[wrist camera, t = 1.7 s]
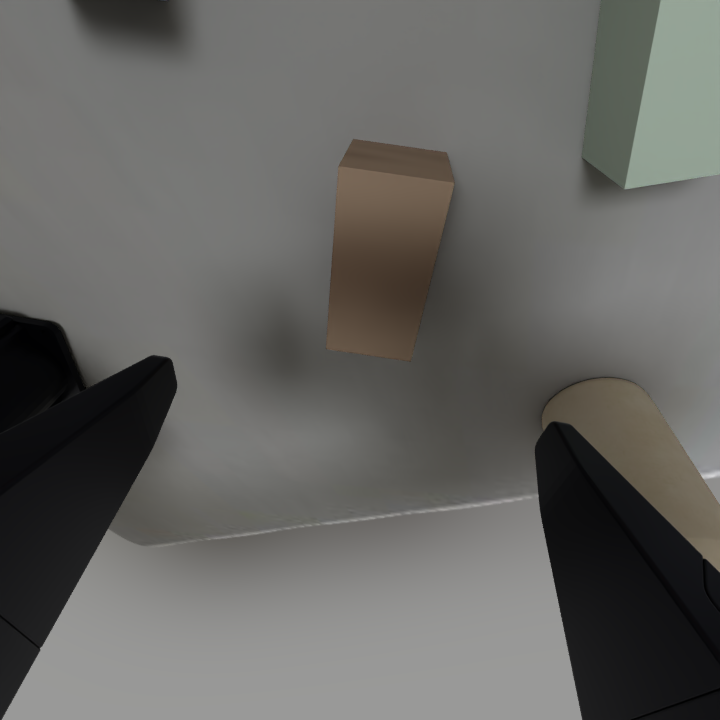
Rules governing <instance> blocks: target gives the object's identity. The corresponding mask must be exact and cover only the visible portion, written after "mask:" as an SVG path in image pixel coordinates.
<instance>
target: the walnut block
mask: <svg viewBox="0 0 720 720" xmlns="http://www.w3.org/2000/svg"><path fill="white" fill-rule="evenodd" d="M454 184H455V182H454V178H453V174H452V171H451V167H450V163H449V160H448V156H447V152H440V151H433V150H426V149H419V148H412V147H405V146H398V145H391V144H384V143H377V142H370V141H363V140H356V139H353V141H352V142H351V144H350V146H349V148H348V150H347V152H346V153H345V155H344V157H343V159H342V161H341V162H340V164H339V166H338V181H337V195H336V210H335V225H334V239H333V254H332V268H331V283H330V298H329V312H328V327H327V341H326V349H329V350H336V351H342V352H349V353H356V354H362V355H369V356H376V357H383V358H389V359H396V360H403V361H409V362H411V359H412V355H413V351H414V347H415V343H416V338H417V334H418V330H419V326H420V322H421V318H422V314H423V310H424V306H425V302H426V298H427V294H428V290H429V286H430V282H431V277H432V273H433V269H434V265H435V261H436V257H437V253H438V249H439V245H440V241H441V237H442V233H443V229H444V225H445V221H446V216H447V212H448V208H449V204H450V200H451V196H452V192H453V188H454Z"/></svg>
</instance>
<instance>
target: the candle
mask: <svg viewBox="0 0 720 720" xmlns="http://www.w3.org/2000/svg"><path fill="white" fill-rule="evenodd" d="M552 421H558V422H564V423H568V424H571V425H572V426H573V427H574V428H575V429H576V430H577V431H578V432H579V433H580V434H581V435H582V436H583V437H584V438H585V439H586V440H587V441H588V442H589V443H590V444H591V445H592V446H593V447H594V448H595V449H596V450H597V451H598V452H599V453H600V454H601V455H602V456H603V457H604V458H605V459H606V460H607V461H608V462H609V463H610V464H611V465H612V466H613V467H614V468H615V469H616V470H617V471H618V472H619V473H620V474H621V475H622V476H623V477H624V478H625V479H626V480H627V481H628V482H629V483H630V484H631V485H632V486H633V487H634V488H635V489H636V490H637V491H638V492H639V493H640V494H641V495H642V496H643V497H644V498H645V499H646V500H647V501H648V502H649V503H650V504H651V505H652V506H653V507H654V508H655V509H656V510H657V511H658V512H659V513H661V514H662V515H663V516H664V517H665V518H666V519H667V520H668V521H669V522H670V523H671V524H672V525H673V526H674V527H675V528H676V529H677V530H678V531H679V532H680V533H681V534H682V535H683V536H684V537H685V538H686V539H687V540H688V541H689V542H690V543H691V544H692V545H693V546H694V547H695V548H696V549H697V550H698V551H699V552H700V553H701V554H702V556H703V559H707V560H708V561H709V562H710V563H711V564H712V565H713V566H714V567H715V568H716V569H717V570H718V571H719V572H720V504H719V503H718V502H717V500H716V498H715V497H714V495H713V494H712V492H711V490H710V489H709V488H708V486H707V484H706V483H705V482H704V480H703V478H702V476H701V475H700V473H699V472H698V470H697V469H696V467H695V466H694V464H693V463H692V461H691V459H690V458H689V456H688V455H687V453H686V452H685V450H684V449H683V447H682V445H681V444H680V442H679V441H678V439H677V438H676V436H675V435H674V433H673V431H672V430H671V428H670V427H669V425H668V424H667V422H666V421H665V419H664V417H663V416H662V414H661V413H660V411H659V410H658V408H657V407H656V405H655V404H654V402H653V401H652V399H651V398H650V396H649V395H648V394H647V393H646V392H645V391H644V390H643V389H642V388H641V387H640V386H638V385H637V384H635V383H633V382H630V381H627V380H623V379H618V378H597V379H590V380H586V381H582V382H579V383H576V384H574V385H572V386H569V387H568V388H566V389H564V390H562V391H561V392H559V393H558V394H557V395H555V396H554V397H553V398H552V399H551V400H550V401H549V402H548V404H547V405H546V407H545V409H544V410H543V414H542V428H543V431H544V430H545V429H546V427H547V425H548V424H549V423H550V422H552Z"/></svg>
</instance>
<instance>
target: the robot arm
mask: <svg viewBox="0 0 720 720" xmlns="http://www.w3.org/2000/svg"><path fill="white" fill-rule="evenodd" d="M176 390H177V380H176V376H175V371H174V366H173V362H172V360H171V359H170V358H168V357H163V356H156V355H152V356H149V357H147V358H145V359H143V360H141V361H139V362H138V363H136V364H134V365H132V366H130V367H128V368H126V369H124V370H122V371H120V372H118V373H116V374H114V375H112V376H110V377H109V378H107V379H105V380H103V381H101V382H99V383H97V384H95V385H93V386H91V387H89V388H87V389H85V388H84V386H83V383H82V381H81V379H80V376H79V374H78V372H77V369H76V367H75V365H74V362H73V360H72V358H71V355H70V353H69V350H68V348H67V346H66V343H65V341H64V339H63V336H62V334H61V332H60V330H59V328H58V327H57V326H56V325H54V324H53V323H50V322H46V321H40V320H34V319H28V318H22V317H16V316H10V315H4V314H0V720H2V718H3V716H4V714H5V712H6V711H7V709H8V707H9V705H10V704H11V702H12V700H13V698H14V696H15V694H16V693H17V691H18V689H19V687H20V686H21V684H22V682H23V680H24V678H25V677H26V675H27V673H28V671H29V670H30V668H31V666H32V664H33V662H34V661H35V659H36V657H37V655H38V653H39V652H40V648H41V647H42V646H43V644H44V642H45V640H46V638H47V637H48V635H49V633H50V631H51V630H52V628H53V626H54V624H55V622H56V621H57V619H58V617H59V615H60V614H61V612H62V610H63V608H64V606H65V605H66V603H67V601H68V599H69V597H70V595H71V594H72V592H73V590H74V588H75V587H76V585H77V583H78V581H79V579H80V578H81V576H82V574H83V572H84V571H85V569H86V567H87V565H88V563H89V561H90V559H91V558H92V556H93V554H94V553H95V551H96V549H97V547H98V545H99V544H100V542H101V540H102V538H103V536H104V535H105V533H106V531H107V529H108V528H109V526H110V524H111V522H112V520H113V519H114V517H115V515H116V513H117V511H118V510H119V508H120V506H121V504H122V503H123V501H124V499H125V497H126V495H127V494H128V492H129V490H130V488H131V486H132V485H133V483H134V481H135V479H136V477H137V476H138V474H139V472H140V470H141V469H142V467H143V465H144V463H145V461H146V460H147V458H148V456H149V454H150V452H151V450H152V448H153V446H154V444H155V442H156V439H157V437H158V435H159V432H160V430H161V427H162V425H163V423H164V420H165V418H166V415H167V413H168V411H169V408H170V406H171V403H172V401H173V398H174V396H175V394H176ZM535 459H536V471H537V483H538V494H539V504H540V512H541V518H542V524H543V528H544V533H545V538H546V543H547V548H548V553H549V558H550V563H551V568H552V572H553V578H554V583H555V587H556V592H557V597H558V602H559V607H560V612H561V617H562V622H563V627H564V632H565V637H566V642H567V646H568V651H569V656H570V661H571V666H572V671H573V676H574V681H575V686H576V691H577V696H578V701H579V706H580V711H581V716H582V720H720V572H719V571H718V570H717V569H716V568H715V567H714V566H713V565H712V564H711V563H710V562H709V561H708V560H707V559H703V556H702V554H701V553H700V552H699V551H698V550H697V549H696V548H695V547H694V546H693V545H692V544H691V543H690V542H689V541H688V540H687V539H686V538H685V537H684V536H683V535H682V534H681V533H680V532H679V531H678V530H677V529H676V528H675V527H674V526H673V525H672V524H671V523H670V522H669V521H668V520H667V519H666V518H665V517H664V516H663V515H662V514H661V513H659V512H658V511H657V510H656V509H655V508H654V507H653V506H652V505H651V504H650V503H649V502H648V501H647V500H646V499H645V498H644V497H643V496H642V495H641V494H640V493H639V492H638V491H637V490H636V489H635V488H634V487H633V486H632V485H631V484H630V483H629V482H628V481H627V480H626V479H625V478H624V477H623V476H622V475H621V474H620V473H619V472H618V471H617V470H616V469H615V468H614V467H613V466H612V465H611V464H610V463H609V462H608V461H607V460H606V459H605V458H604V457H603V456H602V455H601V454H600V453H599V452H598V451H597V450H596V449H595V448H594V447H593V446H592V445H591V444H590V443H589V442H588V441H587V440H586V439H585V438H584V437H583V436H582V435H581V434H580V433H579V432H578V431H577V430H576V429H575V428H574V427H573V426H572V425H571V424H568V423H564V422H558V421H552V422H550V423H549V424H548V425H547V427H546V429H545V430H544V432H543V433H542V435H541V436H540V438H539V439H538V441H537V443H536V446H535Z"/></svg>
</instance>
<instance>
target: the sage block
mask: <svg viewBox="0 0 720 720" xmlns="http://www.w3.org/2000/svg"><path fill="white" fill-rule="evenodd" d="M582 158H584V159H585V160H586V161H588V162H589V163H590V164H592V165H593V166H594V167H595V168H597V169H598V170H599V171H601V172H602V173H603V174H605V175H606V176H607V177H609V178H610V179H611V180H613V181H614V182H615V183H616V184H618V185H619V186H620V187H622V188H623V189H624V190H625V189H631V188H637V187H643V186H650V185H656V184H662V183H668V182H675V181H681V180H687V179H693V178H700V177H706V176H712V175H718V174H720V0H601V5H600V13H599V21H598V29H597V37H596V45H595V53H594V61H593V69H592V78H591V86H590V94H589V102H588V110H587V118H586V126H585V134H584V142H583V151H582Z"/></svg>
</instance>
